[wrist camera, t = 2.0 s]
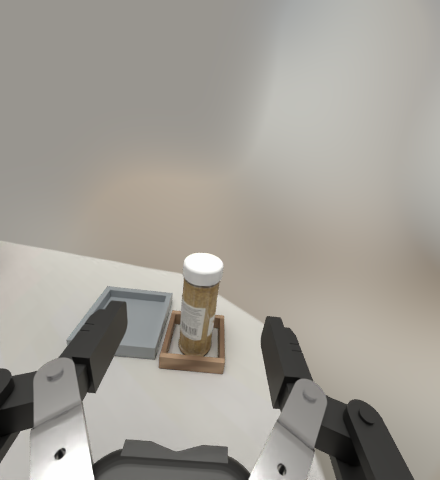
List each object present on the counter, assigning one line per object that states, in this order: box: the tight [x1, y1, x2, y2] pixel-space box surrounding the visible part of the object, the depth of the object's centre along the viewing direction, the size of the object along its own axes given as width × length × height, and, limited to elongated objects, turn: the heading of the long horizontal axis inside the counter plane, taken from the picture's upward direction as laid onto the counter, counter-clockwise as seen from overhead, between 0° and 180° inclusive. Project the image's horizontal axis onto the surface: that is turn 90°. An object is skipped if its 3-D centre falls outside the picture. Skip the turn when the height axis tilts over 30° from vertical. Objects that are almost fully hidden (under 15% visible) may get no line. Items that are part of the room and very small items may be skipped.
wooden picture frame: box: [159, 310, 225, 374], centre depth 30 cm, size 8×8×2 cm
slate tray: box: [67, 286, 172, 359], centre depth 32 cm, size 11×11×2 cm
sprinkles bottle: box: [179, 253, 223, 356], centre depth 28 cm, size 5×5×14 cm
